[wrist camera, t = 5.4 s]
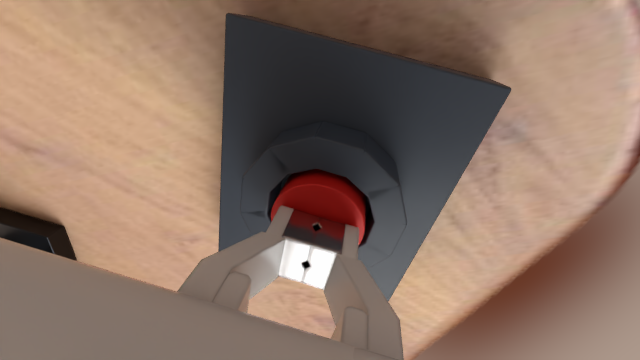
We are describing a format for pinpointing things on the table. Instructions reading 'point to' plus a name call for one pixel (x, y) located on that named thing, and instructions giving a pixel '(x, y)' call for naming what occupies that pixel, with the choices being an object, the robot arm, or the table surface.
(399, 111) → the block
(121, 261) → the table surface
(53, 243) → the bracket
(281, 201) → the button
